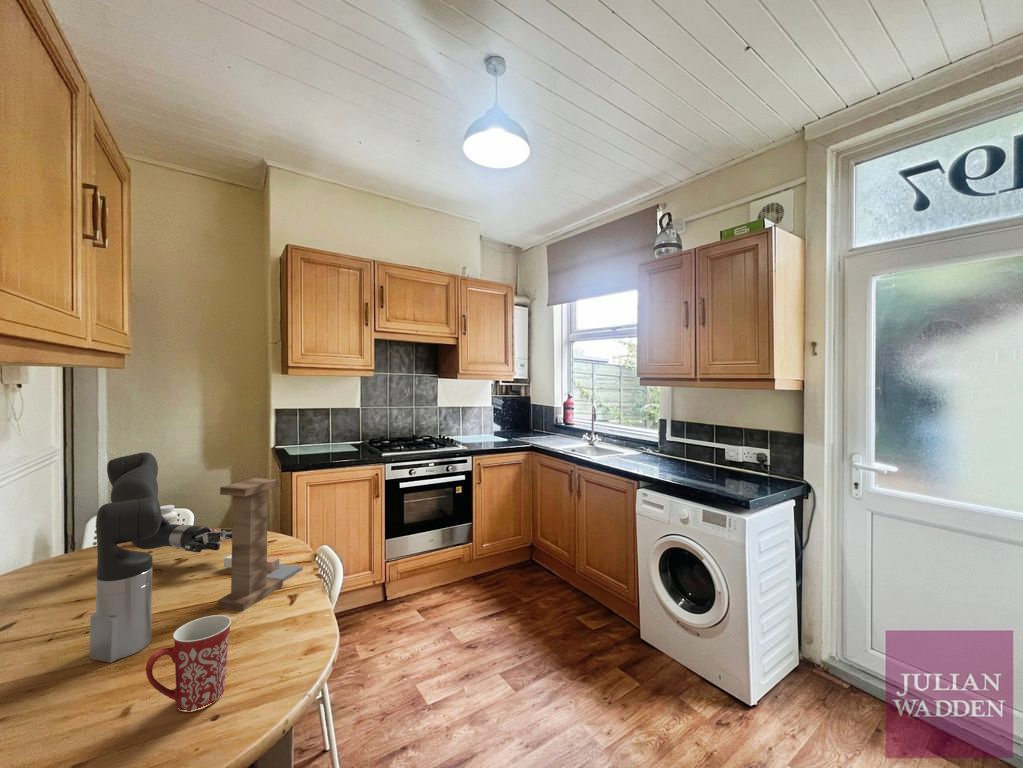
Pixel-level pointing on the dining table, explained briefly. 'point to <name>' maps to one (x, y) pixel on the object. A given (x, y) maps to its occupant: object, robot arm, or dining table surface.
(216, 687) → the mug
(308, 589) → the dining table surface
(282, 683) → the dining table surface
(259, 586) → the stand
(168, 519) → the supplement bottle
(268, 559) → the block
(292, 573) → the board
